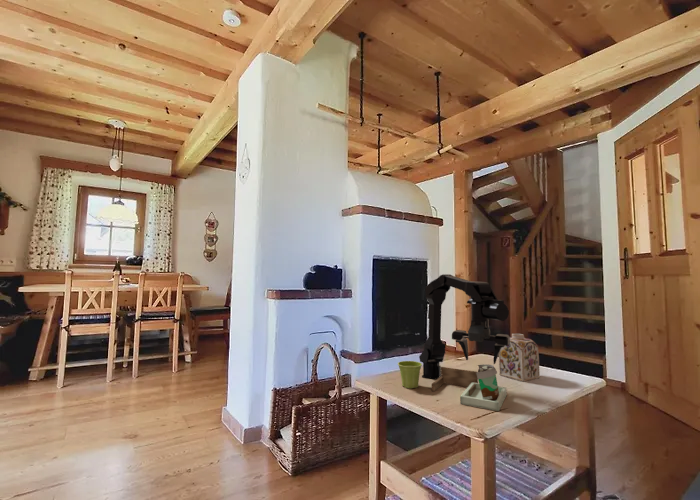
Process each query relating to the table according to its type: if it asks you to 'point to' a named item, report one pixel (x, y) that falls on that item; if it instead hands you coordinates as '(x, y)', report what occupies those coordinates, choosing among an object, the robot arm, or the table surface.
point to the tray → (478, 400)
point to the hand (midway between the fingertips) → (480, 361)
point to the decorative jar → (519, 359)
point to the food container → (488, 382)
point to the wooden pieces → (456, 378)
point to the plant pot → (410, 373)
